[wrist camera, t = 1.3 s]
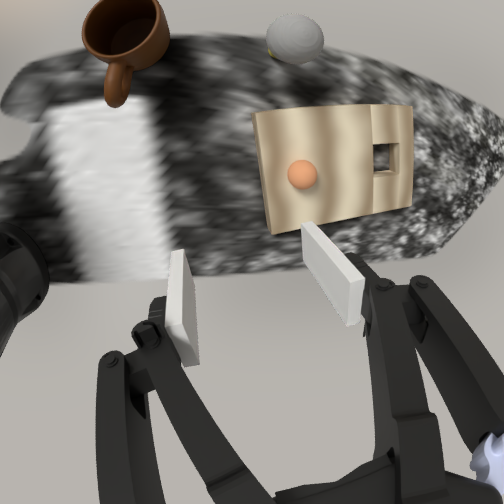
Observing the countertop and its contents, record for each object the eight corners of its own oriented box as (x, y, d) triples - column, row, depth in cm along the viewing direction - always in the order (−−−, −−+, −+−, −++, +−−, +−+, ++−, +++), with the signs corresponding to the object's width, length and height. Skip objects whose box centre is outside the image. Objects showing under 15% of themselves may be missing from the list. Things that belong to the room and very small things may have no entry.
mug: (162, 107, 29) (150, 106, 21) (100, 109, 27) (69, 111, 19) (175, 14, 23) (169, -16, 15) (113, 18, 22) (88, -7, 14)
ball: (285, 187, 34) (294, 195, 31) (282, 159, 32) (291, 165, 29) (311, 182, 34) (323, 190, 31) (309, 155, 32) (321, 161, 29)
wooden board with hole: (267, 226, 38) (272, 234, 36) (251, 112, 31) (255, 113, 29) (401, 200, 40) (411, 206, 38) (401, 105, 33) (412, 106, 31)
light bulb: (286, 26, 26) (319, 2, 18) (303, 64, 29) (342, 52, 20) (244, 39, 26) (264, 14, 18) (263, 77, 29) (289, 67, 20)
